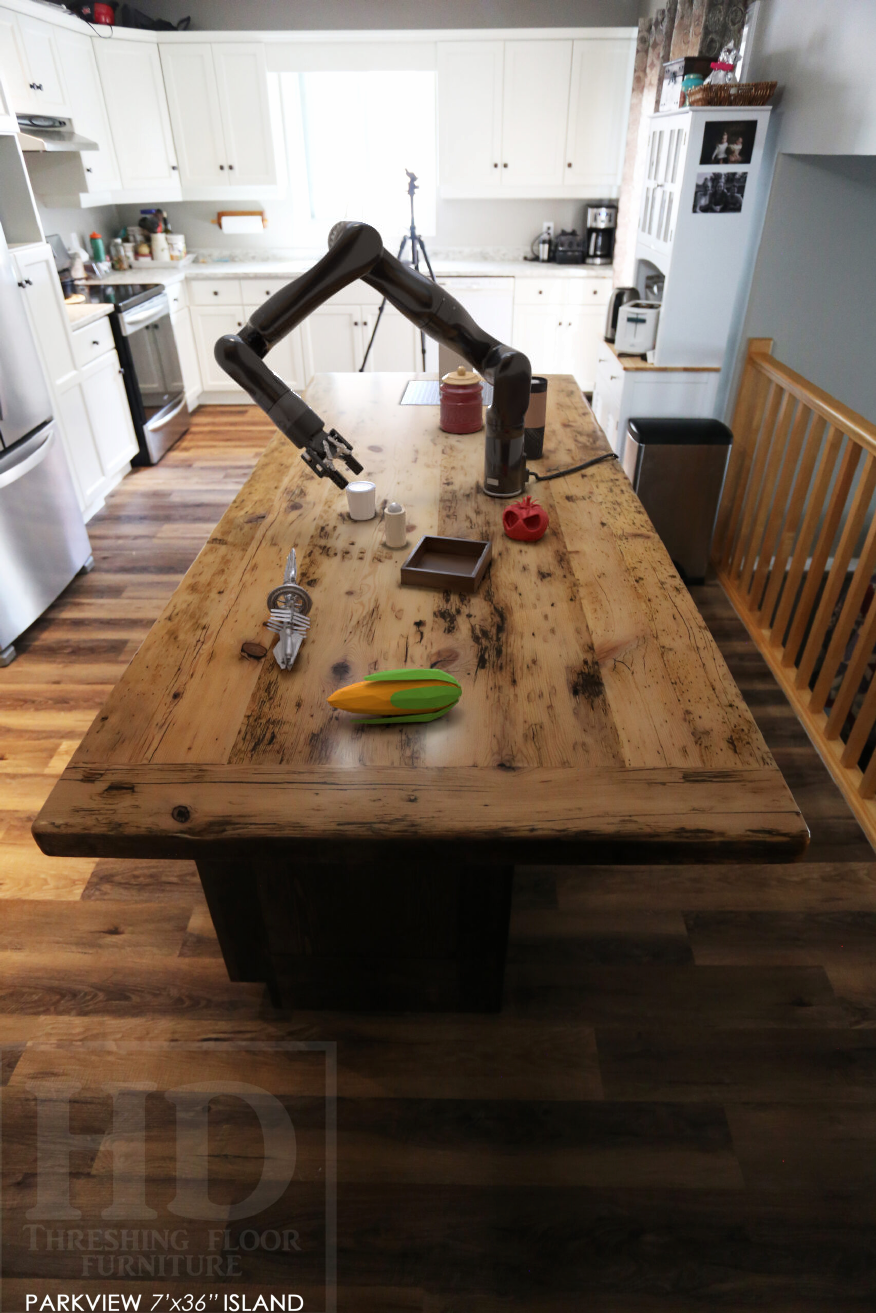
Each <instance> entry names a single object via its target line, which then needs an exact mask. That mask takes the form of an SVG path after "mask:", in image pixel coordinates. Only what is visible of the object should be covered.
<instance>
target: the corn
mask: <svg viewBox="0 0 876 1313" xmlns="http://www.w3.org/2000/svg"><path fill="white" fill-rule="evenodd" d="M363 680H364V681H359V682H355V683H353V684H350V685H347V686H344V687H341V688H339V689H337V690H335V691H334V692H333V693H332V694H330V695H329V696H328V698H326V701H327V703H328V705H329V706H330V707H332V708H335V709H338V710H341V711H344V712H348V713H350V714H354V715H355V714H356V715H357V714H358V715H367V716H368V715H370V716H396V715H397V717H385V718H372V719H352V720H349V721H348V723H351V724H352V723H353V724H367V725H369V724H370V725H373V724H374V725H376V724H396V723H397V724H398V723H399V724H401V723H422V722H431V721H433V720H435V719H438V718H440V717H442V716H445V715H446V714H447V713H449V711H451V710H452V709H453V708H454V707H455V706H456V705H457V704H458V703H459V701H460V699H461V697H462V695H463V689H462V685H461V683H459V681H457V679H456V678H455V676H453V675H451V674H449V673H447V672H445V671H444V670H441V669H440V668H398V669H389V670H382V671H378V672H374V673H371V674H369V675H366V676H363ZM399 715H403V716H399ZM404 715H405V716H404Z"/></svg>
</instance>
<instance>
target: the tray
mask: <svg viewBox="0 0 876 1313" xmlns="http://www.w3.org/2000/svg"><path fill="white" fill-rule="evenodd" d="M492 558H493V541H488V540H487V541H486V540H477V539H468V538H458V537H450V536H440V535H432V534H422V536H421V537H420V538H419V540H418V541H417V543H416V545H415V546H414V548H413V549H412V551H411V552H410V553H409V555H408V556H407V558H406V560H404V563H403V564H402V566H401V567H399V569H400V571H399V572H400V585H403V586H404V585H405V586H411V587H412V586H413V587H419V588H427V589H434V590H443V591H453V592H459V593H466V594H475V593H476V591H477V590H478V587H479V585H480V583H481V581H482V578H483V577H484V574H485V572H486V571H487V568H488V567H489V564H490V562H491V560H492Z"/></svg>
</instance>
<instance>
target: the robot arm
mask: <svg viewBox="0 0 876 1313" xmlns="http://www.w3.org/2000/svg"><path fill="white" fill-rule="evenodd" d="M327 248H328V251H327V252H326V253H325V255H324V256H323V257H322V258H321V259H320V260H318V262H316V264H314V265H313V266H312V267H310V269H308V270H307V271H305V272H304V273H303V274H301V275H300V276H298V277H296V278H295V279H294V280H292V281H290V282H289V283H287V284H285V285H284V286H283V287H281V288H280V289H278V290H277V291H276V292H275V293H273V294H272V295H271V296H270V297H268V299H266V300H265V301H264V302H263V303H262V304H261V305H260V306H258V308H257V309H255V310H254V312H252V314H251V315H250V316H249V318H248V321H247V323H246V325H244V326H243V327H242V328H241V329H240V330H239V331H238V332H237V333H236V334H224V335H222V336H220V337H219V338H218V339H217V340H216V341H215V343H214V346H213V356H214V360H215V362H216V364H217V365H218V367H219V368H220V369H221V370H222V371H223V372H224V373H225V374H227V375H228V376H229V377H230V379H231V380H233V381H234V382H235V383H236V384H237V385H238V386H239V387H240V388H242V389H243V390H244V391H245V393H247V394H248V396H249V397H250V398H251V399H252V401H253V402H254V404H256V405H257V406H258V408H259V409H260V410H262V412H264V413H265V415H267V417H268V418H269V420H270V421H271V422H272V423H273V424H274V425H275V427H276V428H277V429H278V430H279V431H280V432H281V433H282V434H283V435H284V436H285V437H286V438H287V439H288V440H289V442H291V444H293V445H294V446H295V447H296V448H297V449H298V450H302V449H305V450H304V451H303V452H302V453H301V455H300V458H301V460H302V461H303V462H304V463H305V464H306V465H307V466H308V467H309V468H310V469H311V471H312V472H313V473H314V474H315V475H316V476H317V477H318V478H319V479H323V478H329V479H330V481H332V483H334V485H336V487H337V488H339V489H340V490H341V491H343V490H345V488H346V486H347V485H348V484H350V481H348V479H347V478H346V477H345V476H344V475H343V474H342V473H341V472H340V471H339V470H338V469H336V467H335V464H334V462H333V461H334V460H339V461H342V462H344V464H345V465H346V466H347V468H348V469H350V471H351V472H352V473H353V474H354V475H356V476H359V475H360V474H361V473H362V472H363V471H364V469H365V468H364V466H363V465H362V464H361V463H360V462H359V461H358V460H357V459H356V457H354V456H353V452H352V451H353V450H354V447H353V446H352V445H351V444H350V442H349V441H348V440H346V439H345V438H344V437H343V435H341V434H340V433H339V432H338V431H337V429H336V428H334V427H333V428H331V429H330V430H329V431H328V432H326V431H325V430H324V428H325V427H326V422H325V421H324V420H323V419H322V418H321V417H320V416H319V415H318V414H317V413H316V412H315V410H314V409H313V408H312V407H311V406H309V404H308V403H307V402H306V401H305V400H304V399H303V398H302V397H301V396H300V395H298V394H297V393H296V392H294V391H293V389H292V388H291V387H290V386H289V385H288V384H287V383H286V382H285V380H283V379H282V378H281V377H280V376H279V375H278V374H277V373H276V372H274V371H273V370H272V369H271V368H270V367H268V365H267V364H266V362H264V358H265V357H267V355H268V354H270V351H271V350H272V349H273V348H274V347H275V346H276V345H278V344H279V343H280V342H282V340H284V339H285V338H286V337H287V336H288V335H289V334H291V333H292V331H294V330H295V329H296V328H298V326H299V325H301V324H302V323H303V322H304V321H305V319H307V318H308V317H309V316H311V314H312V313H314V312H315V311H316V310H317V309H318V308H319V307H321V306H322V305H323V304H324V303H326V302H327V301H328V300H329V299H331V298H333V296H335V295H336V294H338V293H339V292H340V291H341V290H343V289H345V288H346V287H348V286H350V284H351V285H352V284H353V283H354V282H356V281H357V280H360V281H362V282H364V283H365V284H366V285H367V286H370V287H371V288H372V289H373V290H375V291H376V292H378V293H379V294H380V295H381V296H382V297H384V298H385V299H386V300H387V302H389V303H390V304H391V305H392V307H394V308H395V309H396V310H397V311H398V312H399V313H400V314H401V315H402V316H404V318H406V319H407V320H408V321H409V322H410V323H412V325H414V326H415V327H416V328H417V329H419V330H420V331H421V332H422V333H424V334H425V335H426V336H428V338H430V339H432V340H433V341H434V342H436V343H438V345H439V344H441V345H442V346H444V347H446V348H447V349H449V350H451V351H453V352H455V353H456V354H458V355H460V356H461V357H462V358H463V359H465V360H466V361H467V362H468V363H469V364H470V365H471V366H472V367H473V370H475V371H476V372H477V373H478V374H479V375H480V376H481V377H482V378H483V380H485V382H488V383H489V384H490V385H491V386H493V399H492V405H488V406H487V408H486V409H485V413H484V414H485V416H484V418H485V420H484V421H485V423H484V467H483V487H482V488H483V489H482V490H483V493H484V494H486V495H487V496H490V497H493V498H501V499H502V498H503V499H504V498H512V497H516V496H518V495H520V494H522V493H525V491H526V484H527V483H529V482H530V476H533V477H534V478H535V480H536V481H546V480H551V479H554V478H557V477H560V476H563V475H567V474H570V473H574V472H576V471H579V470H581V469H584V468H586V467H588V466H590V465H592V464H594V463H596V462H599V461H602V460H605V459H607V458H611V457H612V458H614V459H620V456H619V455H618V454H616V453H615V452H609V453H606V454H604V455H601V456H598V457H595V458H593V459H590V460H588V461H586V462H584V463H582V464H579V465H577V466H573V467H572V468H568V469H565V470H561V471H557V472H555V473H552V474H549V475H546V476H539V474H538V472H535V471H530V469H529V468H528V467H527V460H526V457H527V455H526V453H524V452H523V449H524V429H525V415H526V412H527V410H528V407H529V402H530V391H531V380H532V376H533V371H532V369H533V368H532V363H531V361H530V358H529V357H528V356H527V355H526V354H525V353H523V352H522V351H520V350H518V349H516V348H514V347H512V346H509V345H507V344H506V343H504V342H502V341H500V340H499V339H498V338H495V337H493V335H491V334H489V333H488V332H487V331H486V330H484V329H483V328H482V327H481V326H479V324H478V323H477V322H476V321H475V320H474V318H473V317H472V315H471V314H470V313H469V311H468V310H467V309H466V308H465V307H464V305H463V304H461V303H460V302H459V300H457V299H456V298H455V296H453V295H452V294H451V293H449V292H448V291H447V290H446V289H445V288H443V287H442V286H441V285H439V284H438V283H437V282H435V280H433V279H431V278H430V277H428V276H426V275H424V273H422V272H420V271H419V270H417V269H415V268H413V267H411V266H409V265H407V264H406V263H404V262H402V261H401V260H400V259H398V258H397V257H396V256H394V255H393V254H392V253H391V252H390V251H389V250H388V249H387V248H386V247H385V246H384V243H383V238H382V236H381V234H380V231H379V230H378V229H377V228H376V227H374V226H373V225H372V224H371V223H369V222H367V221H364V220H362V219H361V220H360V219H356V218H345V219H342V220H340V221H338V222H336V223H335V224H334V225H333V226H332V227H331V228H330V230H329V232H328V236H327ZM613 455H614V456H613Z"/></svg>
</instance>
